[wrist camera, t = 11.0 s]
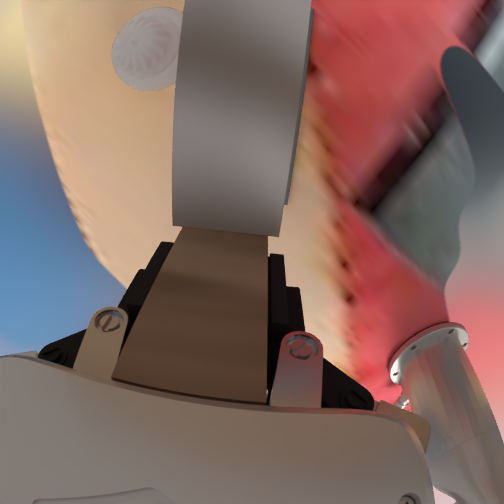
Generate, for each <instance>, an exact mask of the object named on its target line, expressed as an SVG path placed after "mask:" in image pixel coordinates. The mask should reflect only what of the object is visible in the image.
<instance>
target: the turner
mask: <svg viewBox="0 0 504 504" xmlns="http://www.w3.org/2000/svg"><path fill="white" fill-rule="evenodd" d="M311 1H312V0H185V5H184V12H183V19H182V27H181V35H180V44H179V53H178V64H177V75H176V88H175V103H174V123H173V153H172V218H173V226H182V227H183V228H182V229H181V231H180V233H179V235H178V237H177V239H176V241H175V242H174V244H173V246H172V248H171V250H170V252H169V254H168V256H167V258H166V259H165V261H164V263H163V265H162V267H161V269H160V271H159V273H158V275H157V277H156V279H155V281H154V283H153V285H152V287H151V289H150V291H149V293H148V295H147V297H146V299H145V301H144V303H143V306H142V308H141V310H140V312H139V314H138V316H137V318H136V320H135V323H134V325H133V327H132V329H131V331H130V333H129V336H128V338H127V340H126V342H125V345H124V347H123V349H122V351H121V354H120V356H119V358H118V361H117V363H116V365H115V368H114V370H113V373H112V375H111V378H112V380H113V381H117V382H121V383H125V384H129V385H133V386H137V387H142V388H146V389H151V390H156V391H161V392H166V393H171V394H176V395H182V396H188V397H194V398H201V399H208V400H215V401H223V402H232V403H241V404H252V405H264V406H265V405H266V397H267V323H268V236H275V237H279V232H280V226H281V220H282V214H283V207H284V201H285V195H286V188H287V182H288V175H289V169H290V162H291V156H292V149H293V142H294V135H295V128H296V121H297V114H298V107H299V99H300V92H301V84H302V77H303V69H304V61H305V53H306V45H307V36H308V28H309V19H310V10H311Z"/></svg>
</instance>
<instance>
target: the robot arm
mask: <svg viewBox="0 0 504 504" xmlns="http://www.w3.org/2000/svg"><path fill="white" fill-rule="evenodd" d="M173 244H174V243H172V242H163V241H162V242H161V243H160V245H159V246H158V248H157V250H156V251H155V253H154V255H153V257H152V258H151V260H150V262H149V263H148V265H147V267H146V269H140V270H139V271H138V272H137V274H136V275H135V277H134V279H133V281H132V282H131V284H130V286H129V287H128V289H127V291H126V293H125V295H124V296H123V298H122V300H121V302H120V304H119V305H118V307H106V308H102V309H100V310H98V311H97V312H96V313H95V314H94V315H93V316H92V318H91V320H90V323H89V325H88V328H87V329H85V330H83V331H80V332H78V333H75V334H73V335H70V336H68V337H65V338H63V339H60V340H58V341H55V342H53V343H50V344H48V345H46V346H45V347H44V348H43V349H42V350H41V351H40V353H37V351H30V352H24V353H17V354H11V355H4V356H0V504H435V500H434V493H433V486H434V487H435V488H436V489H438V490H439V491H441V492H443V493H445V494H447V495H448V496H450V497H452V498H454V499H455V500H456V502H455V503H454V504H504V443H503V440H502V437H501V434H500V431H499V429H498V426H497V423H496V420H495V418H494V415H493V412H492V410H491V407H490V405H489V402H488V400H487V398H486V395H485V393H484V391H483V388H482V386H481V384H480V382H479V379H478V377H477V375H476V373H475V371H474V369H473V367H472V365H471V362H470V360H469V358H468V356H467V354H466V352H465V351H466V349H467V347H468V343H469V335H468V332H467V331H466V329H465V328H464V326H462V325H461V324H458V323H452V322H448V323H442V324H438V325H435V326H432V327H430V328H427V329H425V330H423V331H422V332H420V333H418V334H416V335H415V336H414V337H412V338H411V339H409V340H408V341H407V342H406V343H404V344H403V345H402V346H401V347H400V348H399V349H398V350H397V352H396V353H395V354H394V356H393V357H392V359H391V361H390V363H389V367H388V371H389V375H390V378H391V380H392V381H393V382H394V383H395V384H397V385H401V386H402V392H401V396H400V397H399V398H398V399H397V400H396V401H395V402H394V404H393V405H392V404H390V403H388V402H385V401H383V400H380V401H379V402H378V401H375V400H374V399H373V397H372V395H371V393H370V392H369V391H368V390H367V389H366V388H364V387H363V386H361V385H360V384H359V383H357V382H356V381H355V380H353V379H352V378H350V377H349V376H348V375H346V374H345V373H344V372H342V371H341V370H339V369H338V368H337V367H335V366H334V365H333V364H331V363H330V362H329V361H327V360H326V359H325V358H323V346H322V343H321V342H320V340H319V339H318V338H317V337H316V336H314V335H312V334H310V333H307V332H305V326H304V318H303V310H302V302H301V294H300V289H299V287H289V286H286V277H285V265H284V255H281V254H272V253H270V257H268V323H267V390H268V392H267V397H266V405H265V406H264V405H252V404H241V403H232V402H223V401H215V400H208V399H201V398H194V397H188V396H182V395H176V394H171V393H166V392H161V391H156V390H151V389H146V388H142V387H137V386H133V385H129V384H125V383H121V382H117V381H113V380H112V378H111V375H112V373H113V370H114V368H115V365H116V363H117V361H118V358H119V356H120V354H121V351H122V349H123V347H124V345H125V342H126V340H127V338H128V336H129V333H130V331H131V329H132V327H133V325H134V323H135V320H136V318H137V316H138V314H139V312H140V310H141V308H142V306H143V303H144V301H145V299H146V297H147V295H148V293H149V291H150V289H151V287H152V285H153V283H154V281H155V279H156V277H157V275H158V273H159V271H160V269H161V267H162V265H163V263H164V261H165V259H166V258H167V256H168V254H169V252H170V250H171V248H172V246H173ZM408 403H410V406H411V409H412V412H410V411H407V410H405V409H404V408H405V407H406V406H407V405H408ZM432 485H433V486H432Z"/></svg>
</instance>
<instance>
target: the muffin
mask: <svg viewBox="0 0 504 504" xmlns="http://www.w3.org/2000/svg"><path fill="white" fill-rule="evenodd" d="M182 19H183V13H182V12H180V11H178V10H176V9H173V8H168V7H158V8H152V9H149V10H146V11H143V12H141V13H139V14H137V15H136V16H134V17H133V18H132V19H130V20H129V21H128V22H127V23H126V24H125V25H124V26H123V28H121V30H120V32H119V33H118V35H117V36H116V37H115V41H114V43H113V47H112V62H113V66H114V69H115V71H116V73H117V75H118V76H119V78H120V79H121V80H122V81H123V82H124V83H125V84H127V85H128V86H130V87H132V88H134V89H137V90H140V91H156V90H160V89H163V88H165V87H168V86H170V85H172V84H174V83H176V75H177V64H178V53H179V44H180V35H181V27H182Z"/></svg>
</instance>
